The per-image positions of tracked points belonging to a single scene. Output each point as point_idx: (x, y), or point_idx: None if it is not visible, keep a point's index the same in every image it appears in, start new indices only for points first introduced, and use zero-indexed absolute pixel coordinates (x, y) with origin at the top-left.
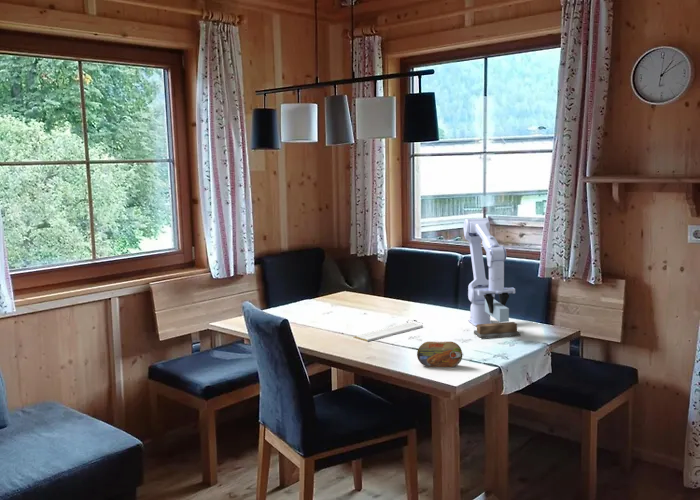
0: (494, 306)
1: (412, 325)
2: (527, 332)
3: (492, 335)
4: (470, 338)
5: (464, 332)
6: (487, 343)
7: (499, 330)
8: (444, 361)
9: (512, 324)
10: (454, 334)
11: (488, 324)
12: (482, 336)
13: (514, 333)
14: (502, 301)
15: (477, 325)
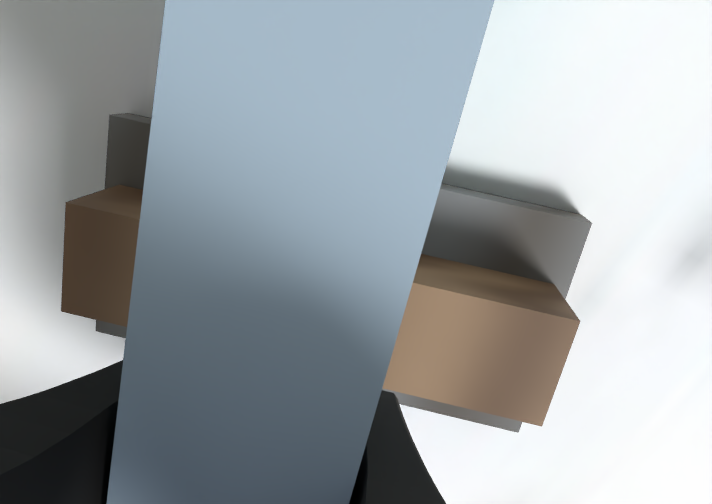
0: (378, 388)
1: None
2: (3, 199)
3: (446, 188)
4: (665, 281)
5: (567, 487)
6: (639, 5)
7: None
8: None
9: (128, 217)
10: (703, 477)
11: (412, 356)
12: (566, 215)
13: None
14: (55, 478)
15: (547, 402)
